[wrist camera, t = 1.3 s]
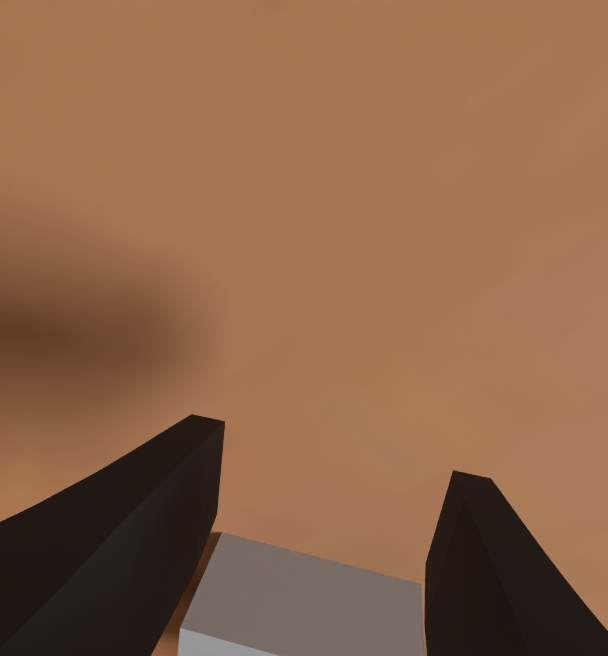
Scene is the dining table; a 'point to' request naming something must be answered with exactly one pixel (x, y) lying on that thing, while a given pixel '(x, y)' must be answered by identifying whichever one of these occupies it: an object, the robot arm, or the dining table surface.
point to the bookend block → (298, 607)
